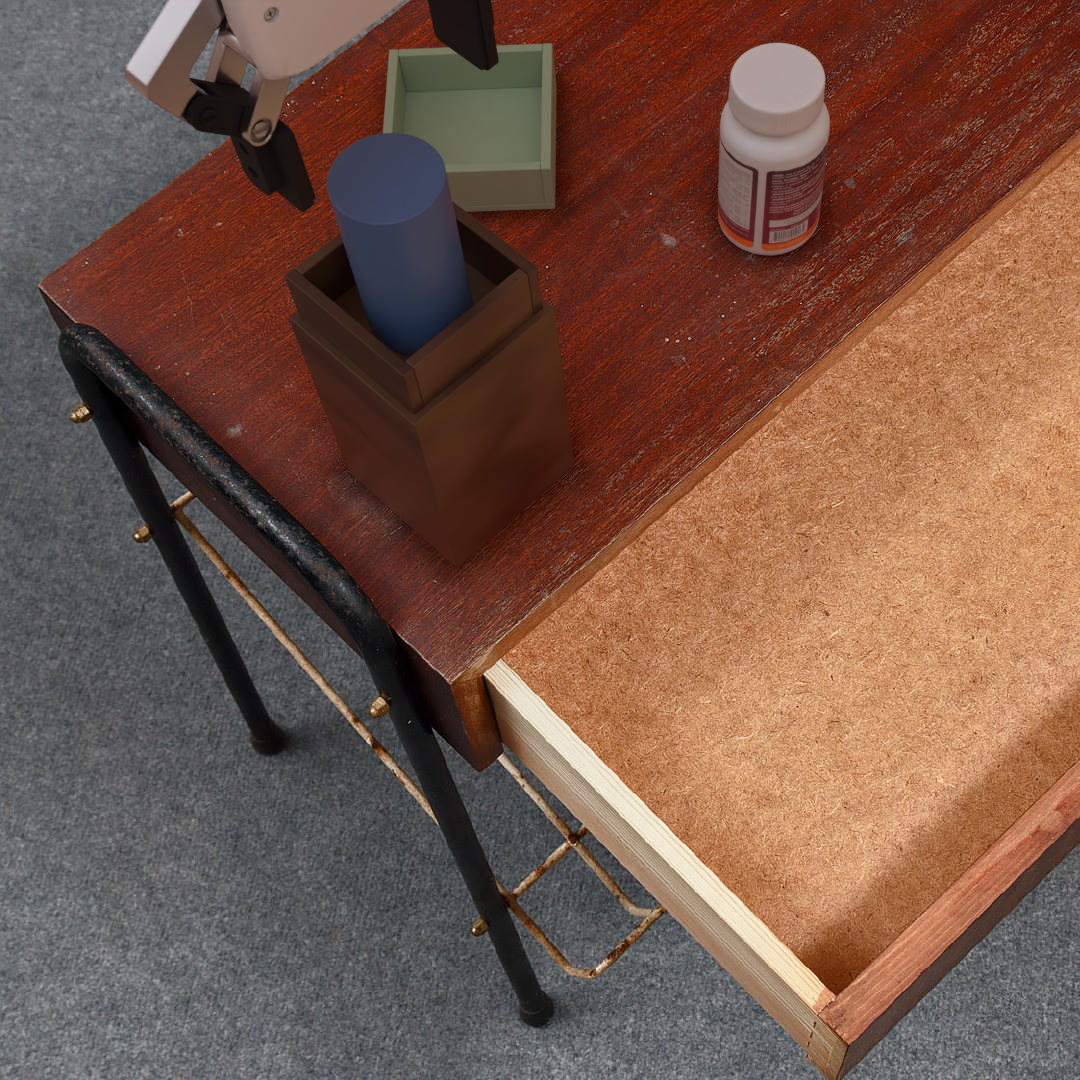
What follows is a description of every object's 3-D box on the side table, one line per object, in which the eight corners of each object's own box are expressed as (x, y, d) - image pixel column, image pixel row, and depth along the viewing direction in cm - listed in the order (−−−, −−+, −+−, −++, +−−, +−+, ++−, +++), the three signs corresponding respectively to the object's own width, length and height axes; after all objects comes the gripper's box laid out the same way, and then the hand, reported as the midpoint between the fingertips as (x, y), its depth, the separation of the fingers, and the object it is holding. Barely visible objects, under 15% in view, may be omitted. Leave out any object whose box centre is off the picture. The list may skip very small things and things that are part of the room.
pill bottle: (830, 193, 89) (849, 47, 79) (802, 270, 86) (819, 129, 76) (733, 171, 90) (740, 23, 80) (703, 246, 87) (706, 104, 77)
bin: (389, 214, 89) (379, 174, 86) (398, 91, 94) (389, 49, 91) (555, 209, 89) (550, 168, 86) (556, 85, 94) (552, 42, 90)
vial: (364, 357, 68) (321, 226, 60) (371, 271, 70) (330, 134, 62) (472, 354, 67) (443, 222, 59) (475, 268, 70) (448, 129, 62)
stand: (457, 569, 78) (402, 387, 63) (348, 471, 81) (271, 275, 66) (575, 465, 81) (550, 266, 66) (465, 374, 84) (417, 163, 69)
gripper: (396, -496, 46) (472, -41, 61) (-57, -222, 41) (150, 196, 57) (562, -405, 43) (598, 45, 59) (101, -103, 39) (272, 301, 54)
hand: (378, 119), depth 58 cm, fingers open, 9 cm apart
